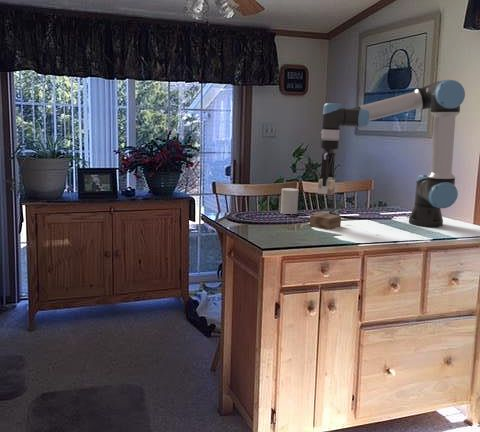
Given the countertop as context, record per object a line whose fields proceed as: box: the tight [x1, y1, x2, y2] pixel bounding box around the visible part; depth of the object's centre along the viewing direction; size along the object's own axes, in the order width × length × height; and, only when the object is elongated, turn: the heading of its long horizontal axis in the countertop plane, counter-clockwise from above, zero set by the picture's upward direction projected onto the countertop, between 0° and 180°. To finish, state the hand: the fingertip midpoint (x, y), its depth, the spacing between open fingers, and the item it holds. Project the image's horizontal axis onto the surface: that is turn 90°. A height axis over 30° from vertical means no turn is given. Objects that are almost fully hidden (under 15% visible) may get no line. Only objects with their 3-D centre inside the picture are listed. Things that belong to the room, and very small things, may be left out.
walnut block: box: [309, 212, 342, 230], centre depth 237 cm, size 10×10×5 cm
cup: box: [280, 187, 300, 216], centre depth 262 cm, size 8×8×12 cm
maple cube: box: [317, 178, 336, 196], centre depth 235 cm, size 6×6×6 cm
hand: (326, 192), depth 235 cm, fingers closed on maple cube, 6 cm apart
